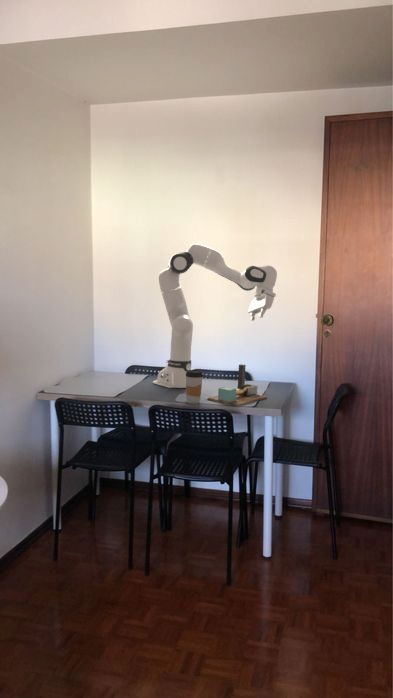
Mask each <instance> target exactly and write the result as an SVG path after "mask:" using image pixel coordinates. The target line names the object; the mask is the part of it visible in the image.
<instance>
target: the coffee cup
mask: <svg viewBox="0 0 393 698" xmlns="http://www.w3.org/2000/svg"><path fill="white" fill-rule="evenodd" d="M203 376H204V374H203V371H202V370H198V369H197V370H196V369H191V370H188V371H187V373H186V388H185V395H186V398H185V399H186V403H188V404H199V403H200V401H201V396H202V395H201V394H202V388H203V387H202V386H203Z"/></svg>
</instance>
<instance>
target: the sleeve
mask: <svg viewBox="0 0 393 698" xmlns="http://www.w3.org/2000/svg"><path fill="white" fill-rule="evenodd" d="M249 386H251V387H249ZM245 387H248V388H247V392H246V393H245V394H241V395H240V396H245V397H249V396H253V395H258V385H255V384H249V383H245V386H244V388H245ZM236 389H238V385H237V388H236Z"/></svg>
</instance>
